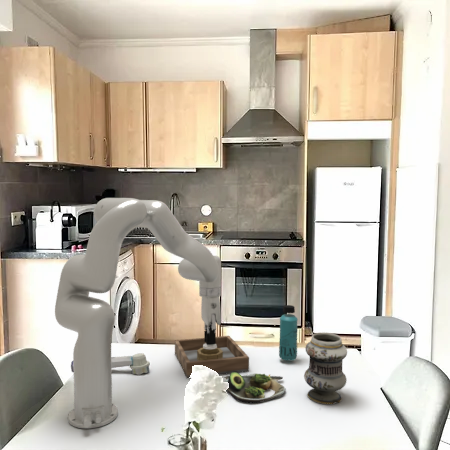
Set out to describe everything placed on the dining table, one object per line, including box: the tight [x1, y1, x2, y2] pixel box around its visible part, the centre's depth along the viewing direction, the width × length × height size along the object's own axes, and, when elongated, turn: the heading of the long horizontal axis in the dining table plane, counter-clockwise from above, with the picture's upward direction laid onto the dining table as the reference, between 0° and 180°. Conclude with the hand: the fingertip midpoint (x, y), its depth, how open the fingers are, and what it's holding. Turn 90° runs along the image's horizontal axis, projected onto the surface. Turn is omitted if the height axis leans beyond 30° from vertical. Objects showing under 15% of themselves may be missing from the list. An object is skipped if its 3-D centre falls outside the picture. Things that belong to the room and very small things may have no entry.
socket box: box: [174, 335, 250, 379], centre depth 153 cm, size 23×21×5 cm
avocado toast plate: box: [223, 372, 286, 404], centre depth 133 cm, size 19×18×5 cm
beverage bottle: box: [278, 304, 299, 361], centre depth 154 cm, size 6×7×20 cm
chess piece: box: [203, 323, 217, 349], centre depth 152 cm, size 5×5×10 cm
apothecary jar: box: [303, 332, 348, 405], centre depth 127 cm, size 12×12×18 cm
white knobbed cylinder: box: [70, 352, 151, 376], centre depth 144 cm, size 5×7×25 cm
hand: (209, 342), depth 153 cm, fingers closed on chess piece
